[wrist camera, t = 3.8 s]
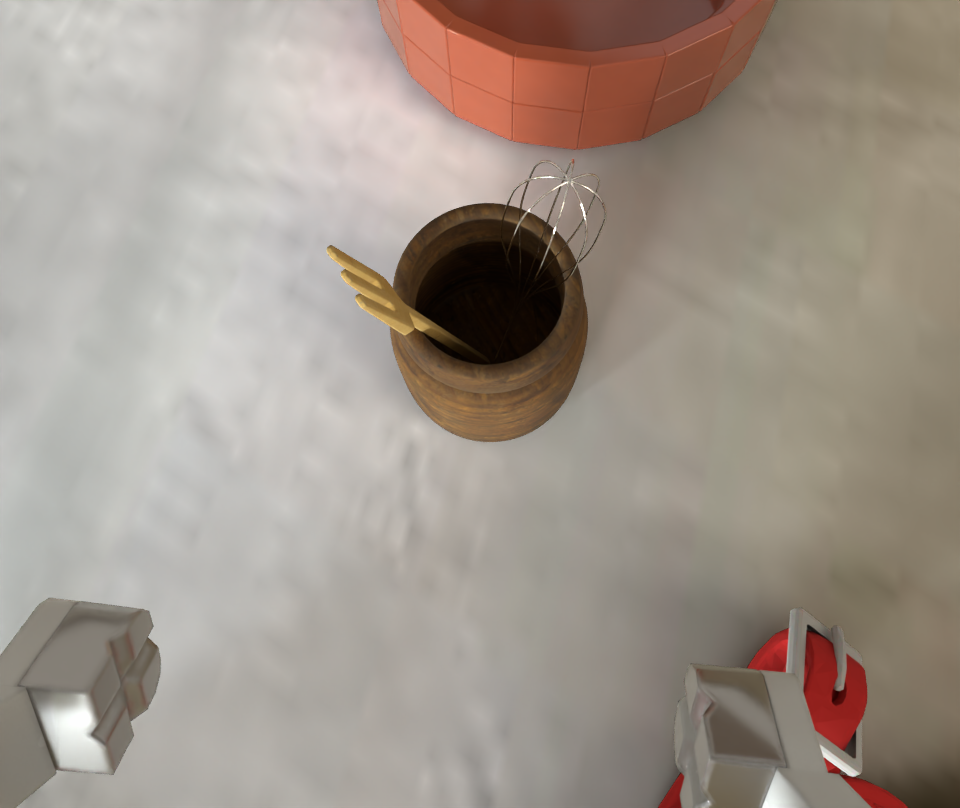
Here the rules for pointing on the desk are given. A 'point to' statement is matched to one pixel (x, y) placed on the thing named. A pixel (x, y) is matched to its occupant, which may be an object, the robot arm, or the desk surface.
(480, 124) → the bowl
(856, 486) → the desk surface
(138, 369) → the desk surface
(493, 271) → the utensil holder
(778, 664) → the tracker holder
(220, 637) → the desk surface
